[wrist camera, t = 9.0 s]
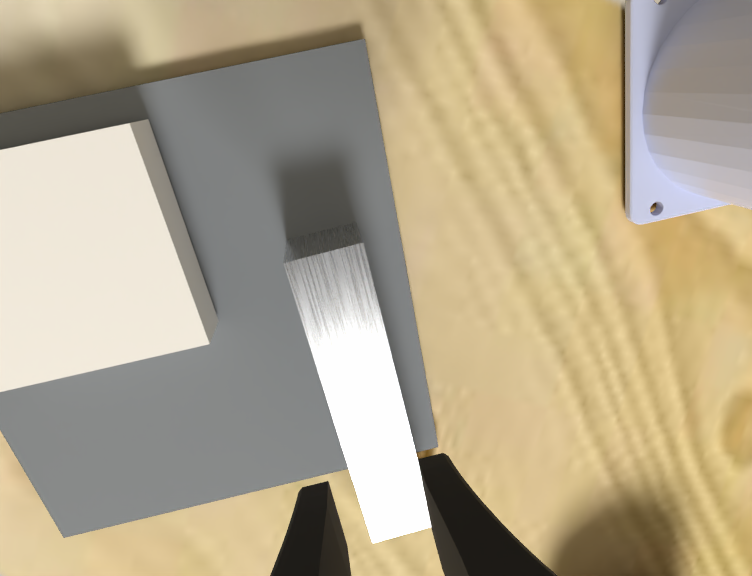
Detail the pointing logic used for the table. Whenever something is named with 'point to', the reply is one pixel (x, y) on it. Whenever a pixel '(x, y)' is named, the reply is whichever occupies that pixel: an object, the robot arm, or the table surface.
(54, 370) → the tile
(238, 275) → the mat
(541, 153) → the table surface
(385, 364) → the bar
